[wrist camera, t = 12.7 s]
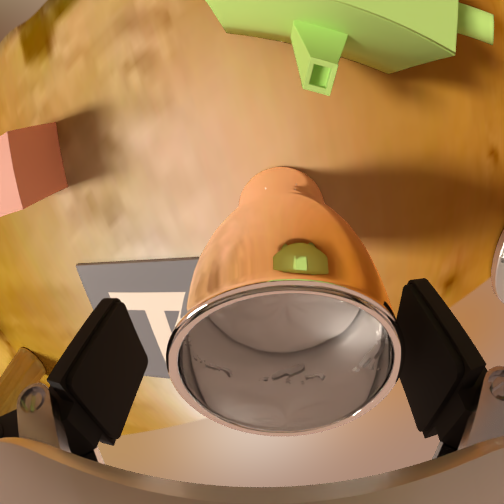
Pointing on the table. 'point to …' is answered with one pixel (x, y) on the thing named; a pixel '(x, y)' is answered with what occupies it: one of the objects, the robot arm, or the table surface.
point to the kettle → (356, 31)
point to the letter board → (143, 298)
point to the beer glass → (284, 317)
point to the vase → (19, 378)
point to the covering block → (29, 167)
